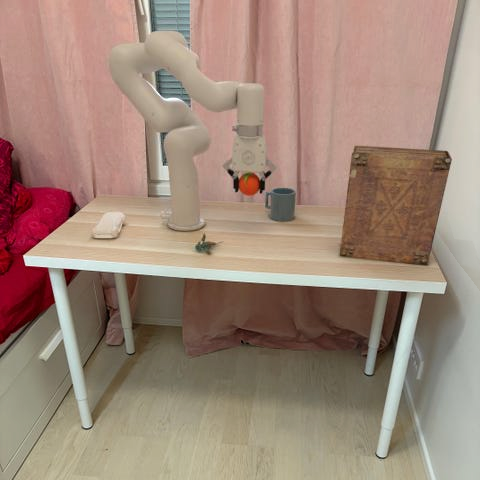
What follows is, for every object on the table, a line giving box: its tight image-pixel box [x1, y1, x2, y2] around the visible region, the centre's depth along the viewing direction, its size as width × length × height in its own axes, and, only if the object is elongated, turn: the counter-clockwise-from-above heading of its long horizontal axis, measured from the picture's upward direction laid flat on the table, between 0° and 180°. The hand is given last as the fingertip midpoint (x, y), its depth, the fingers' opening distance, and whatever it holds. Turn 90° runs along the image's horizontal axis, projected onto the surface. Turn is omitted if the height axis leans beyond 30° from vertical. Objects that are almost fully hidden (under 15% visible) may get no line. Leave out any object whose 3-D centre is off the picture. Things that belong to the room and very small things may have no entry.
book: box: [339, 145, 453, 266], centre depth 136 cm, size 25×9×30 cm, turn 75°
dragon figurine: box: [194, 233, 223, 255], centre depth 147 cm, size 7×7×8 cm
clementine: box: [238, 172, 261, 197], centre depth 146 cm, size 8×7×7 cm
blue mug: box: [264, 187, 297, 222], centre depth 171 cm, size 12×9×10 cm
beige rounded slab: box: [91, 211, 127, 239], centre depth 160 cm, size 18×8×4 cm, turn 179°
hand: (249, 191), depth 147 cm, fingers closed on clementine, 7 cm apart
